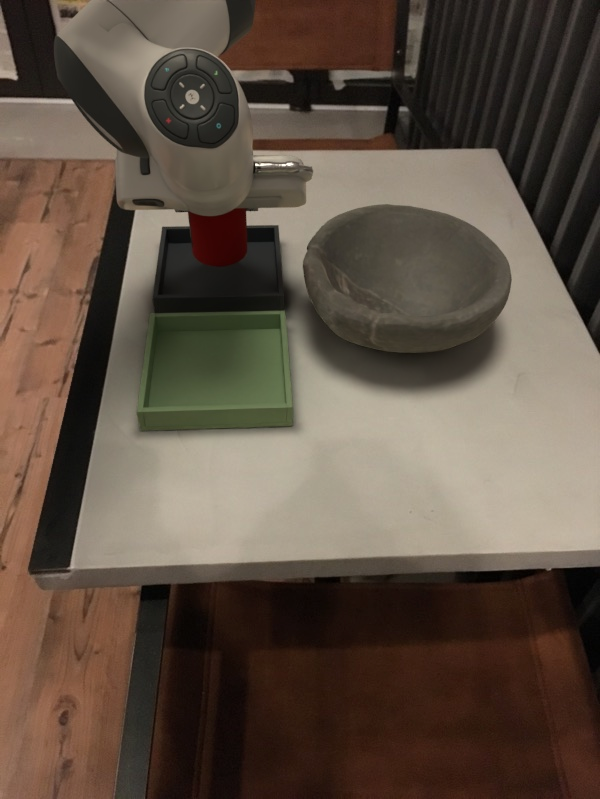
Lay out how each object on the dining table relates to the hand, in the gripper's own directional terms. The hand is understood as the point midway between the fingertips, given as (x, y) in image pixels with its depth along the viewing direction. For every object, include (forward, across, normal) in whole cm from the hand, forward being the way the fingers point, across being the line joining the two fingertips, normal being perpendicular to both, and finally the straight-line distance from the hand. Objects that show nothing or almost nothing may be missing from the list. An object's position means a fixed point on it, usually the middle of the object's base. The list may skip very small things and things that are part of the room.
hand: (216, 205), depth 80 cm
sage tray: (-6, 0, +20) cm, 21 cm away
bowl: (0, -21, +15) cm, 26 cm away
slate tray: (+6, 0, +7) cm, 10 cm away
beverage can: (+4, 0, +5) cm, 7 cm away
